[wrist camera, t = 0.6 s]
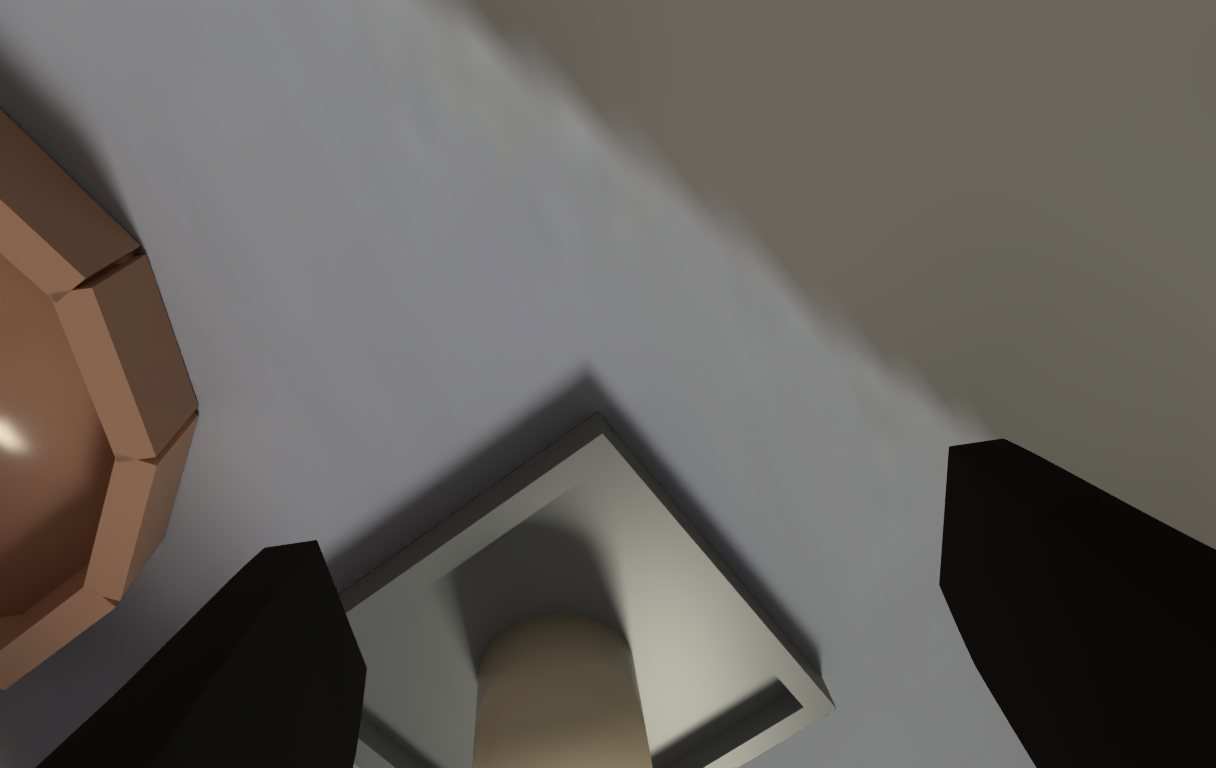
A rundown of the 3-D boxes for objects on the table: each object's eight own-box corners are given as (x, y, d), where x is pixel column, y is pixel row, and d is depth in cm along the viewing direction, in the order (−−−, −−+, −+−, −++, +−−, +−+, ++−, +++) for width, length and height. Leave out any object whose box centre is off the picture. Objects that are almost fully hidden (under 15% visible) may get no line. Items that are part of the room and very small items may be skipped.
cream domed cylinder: (543, 756, 24) (547, 884, 21) (445, 668, 23) (431, 791, 19) (664, 680, 24) (690, 799, 20) (572, 583, 22) (582, 695, 18)
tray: (524, 859, 27) (524, 895, 26) (262, 649, 22) (248, 681, 21) (822, 678, 25) (836, 708, 24) (598, 411, 21) (602, 433, 19)
